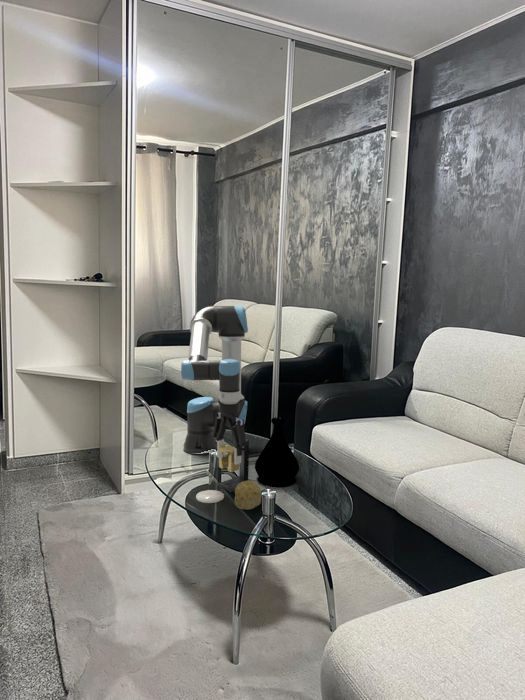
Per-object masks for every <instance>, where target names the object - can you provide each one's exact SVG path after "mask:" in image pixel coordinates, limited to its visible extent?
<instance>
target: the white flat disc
mask: <svg viewBox="0 0 525 700" xmlns="http://www.w3.org/2000/svg"><path fill="white" fill-rule="evenodd" d="M195 499H196V501H198V502H200V503H202V504H214V503H219V502H221V501H223V500H224V499H225V494H224V493H223V492H222V491H219V490H214V489H207V490H202V491H199V492H198V493H197V494H196V495H195Z"/></svg>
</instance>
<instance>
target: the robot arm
mask: <svg viewBox="0 0 525 700" xmlns="http://www.w3.org/2000/svg"><path fill="white" fill-rule="evenodd" d="M246 312H247V311H246V309H245V307H244V306H238V305H208V306H205V307H203V308H201V309H200V310H198V311H197V312H196V313H194V315H193V316H192V318H191V320H190V322H189V331H190V341H189V349H188V357H187V360H182V362H181V364H180V366H181V367H180V375H181V379H182V380H184V381H185V380H186V381H219V382H218V383H219V384H218V385H219V386H218V387H219V390H218V391H219V393H218V394H219V395H218V398H217V400H214V398H213V397H211V396H202V397H201V396H200V397H196V398H193V399H191V400H189V401H188V402H187V407H186V408H187V410H186V413H187V416H186V417H187V421H186V424H187V434H186V436H185V439H184V440H185V441H184V443H183V451H184V450H185V451H186V453H187V452H189V453H188V454H190V453H201V452H204V451H208V450H211V449H217V450H216V453H217V456H216V457H217V458H218V459H219V447H220V446H224V445H225V439H224V435H225V434H226V433H225V432H226V430H227V428H228V429H229V430H230V431H231V433H232V437H233V441H234V444H235V446H233V447H234V464H235V465H236V464H239V465H240V463H241V455H242V447H244V446H246V445H247V444H246V439H247V438H246V431H245V423H246V417H247V412H248V401H247V400H245V396H244V395H243V394H242V340H243V339H244V338H245V335H246V334H247V333H248V332H249V328H248V320H247V313H246ZM211 333H217V334H218V337H219V339H220V340H221V360H208V357H209V356H208V354H209V341H210V334H211ZM185 451H184V452H185Z"/></svg>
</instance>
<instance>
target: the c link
mask: <svg viewBox="0 0 525 700" xmlns="http://www.w3.org/2000/svg"><path fill="white" fill-rule="evenodd" d="M234 447H235V446H231V444H230V445H229V444H224V446H220V447H219V454H220V453H226V454H229V455H228V456H225V457H224V458H222V459H221V458H220V457H219V458H218V467H219V468H220V469H226V468H227V471H228V472H230V473H233V472H236V471H240V464H236V465H235V464H234Z"/></svg>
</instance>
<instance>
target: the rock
mask: <svg viewBox="0 0 525 700" xmlns="http://www.w3.org/2000/svg"><path fill="white" fill-rule="evenodd" d="M254 481H255V480H253V481H250V480H248V481H243V482H241V483H239V484H238V485H237V487H236V489H235V491H234V494H235V495H234V506H236V508H237V509H240V510H253V509H255V508H257V507H259V506H260V505H261V503H262V488H261V486H260V484H259V483H258V482H257V481H255V482H254Z"/></svg>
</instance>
